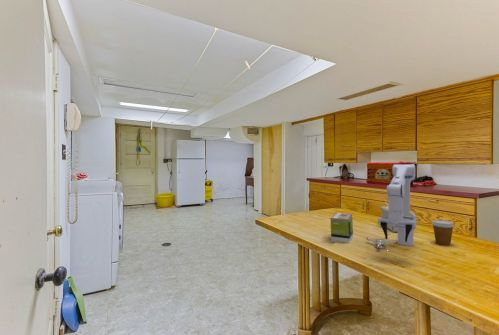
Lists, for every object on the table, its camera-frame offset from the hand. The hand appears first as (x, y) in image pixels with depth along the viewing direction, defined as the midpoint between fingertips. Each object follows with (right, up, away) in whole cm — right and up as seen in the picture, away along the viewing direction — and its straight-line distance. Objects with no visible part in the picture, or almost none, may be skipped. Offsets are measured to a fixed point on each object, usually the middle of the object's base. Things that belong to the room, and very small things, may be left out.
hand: (396, 239), depth 112 cm
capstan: (0, -8, +15) cm, 17 cm away
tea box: (-13, -10, +32) cm, 35 cm away
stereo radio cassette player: (+29, -8, +53) cm, 61 cm away
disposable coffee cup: (+38, -9, +21) cm, 45 cm away
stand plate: (+1, -10, +16) cm, 19 cm away
